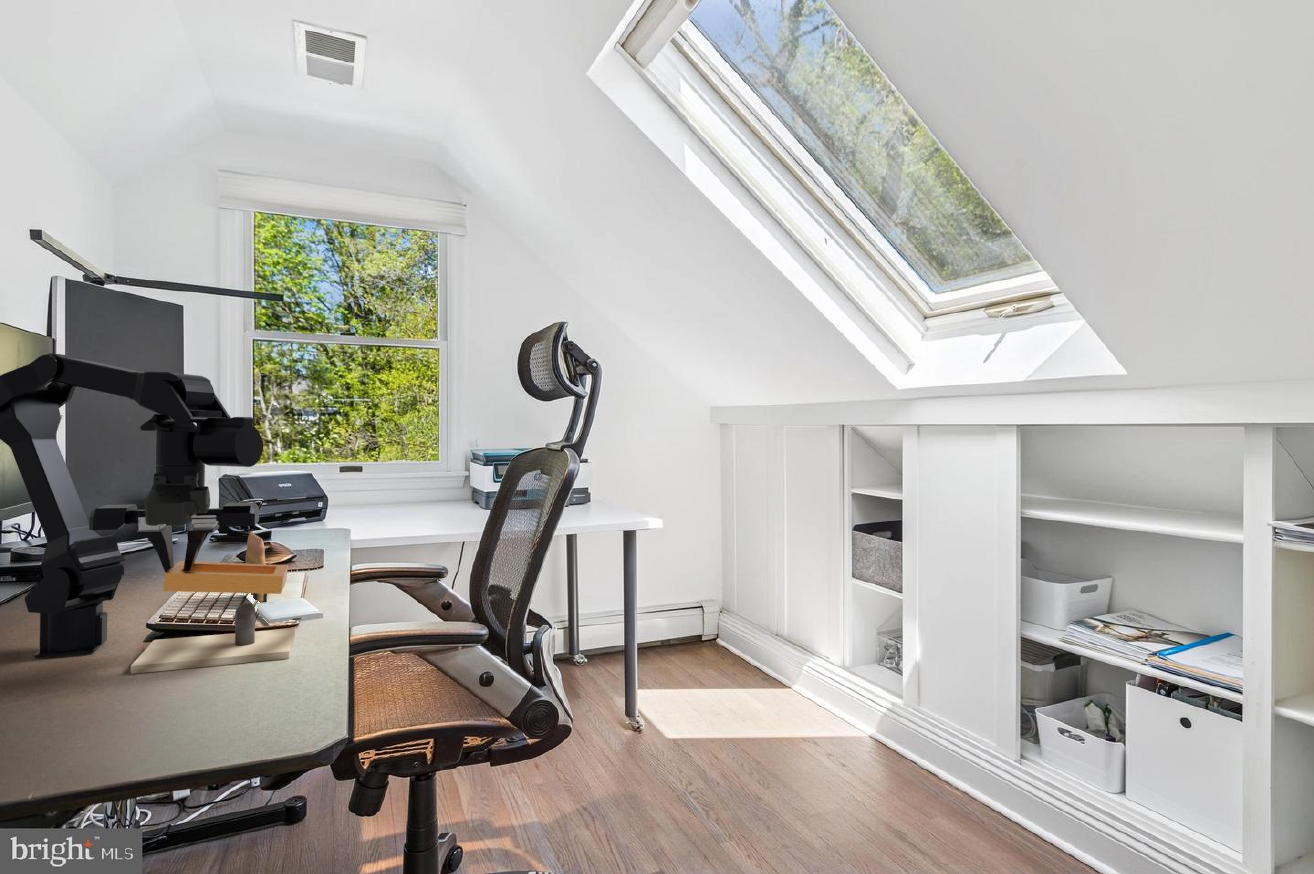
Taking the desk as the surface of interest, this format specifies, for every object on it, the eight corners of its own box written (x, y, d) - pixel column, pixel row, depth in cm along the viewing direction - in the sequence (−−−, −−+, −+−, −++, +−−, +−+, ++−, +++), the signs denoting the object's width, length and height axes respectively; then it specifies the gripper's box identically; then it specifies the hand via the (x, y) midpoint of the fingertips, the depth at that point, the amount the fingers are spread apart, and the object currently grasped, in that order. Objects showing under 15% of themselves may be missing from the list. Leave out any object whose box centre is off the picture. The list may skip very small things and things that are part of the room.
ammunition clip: (266, 605, 126) (267, 538, 126) (255, 607, 125) (256, 539, 125) (254, 594, 134) (255, 531, 134) (243, 595, 133) (244, 531, 133)
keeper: (130, 673, 91) (131, 621, 91) (153, 646, 102) (154, 600, 102) (289, 658, 98) (289, 609, 98) (294, 634, 109) (295, 591, 109)
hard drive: (252, 603, 123) (268, 618, 114) (303, 597, 128) (323, 611, 119) (252, 613, 123) (268, 629, 114) (303, 606, 128) (323, 621, 119)
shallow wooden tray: (162, 591, 93) (165, 572, 93) (177, 578, 101) (179, 561, 101) (280, 593, 98) (283, 576, 99) (286, 581, 107) (288, 565, 107)
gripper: (75, 468, 86) (72, 596, 86) (250, 468, 94) (248, 586, 94) (104, 463, 97) (102, 578, 97) (260, 464, 104) (258, 570, 104)
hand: (178, 578), depth 98 cm, fingers closed on shallow wooden tray, 1 cm apart
